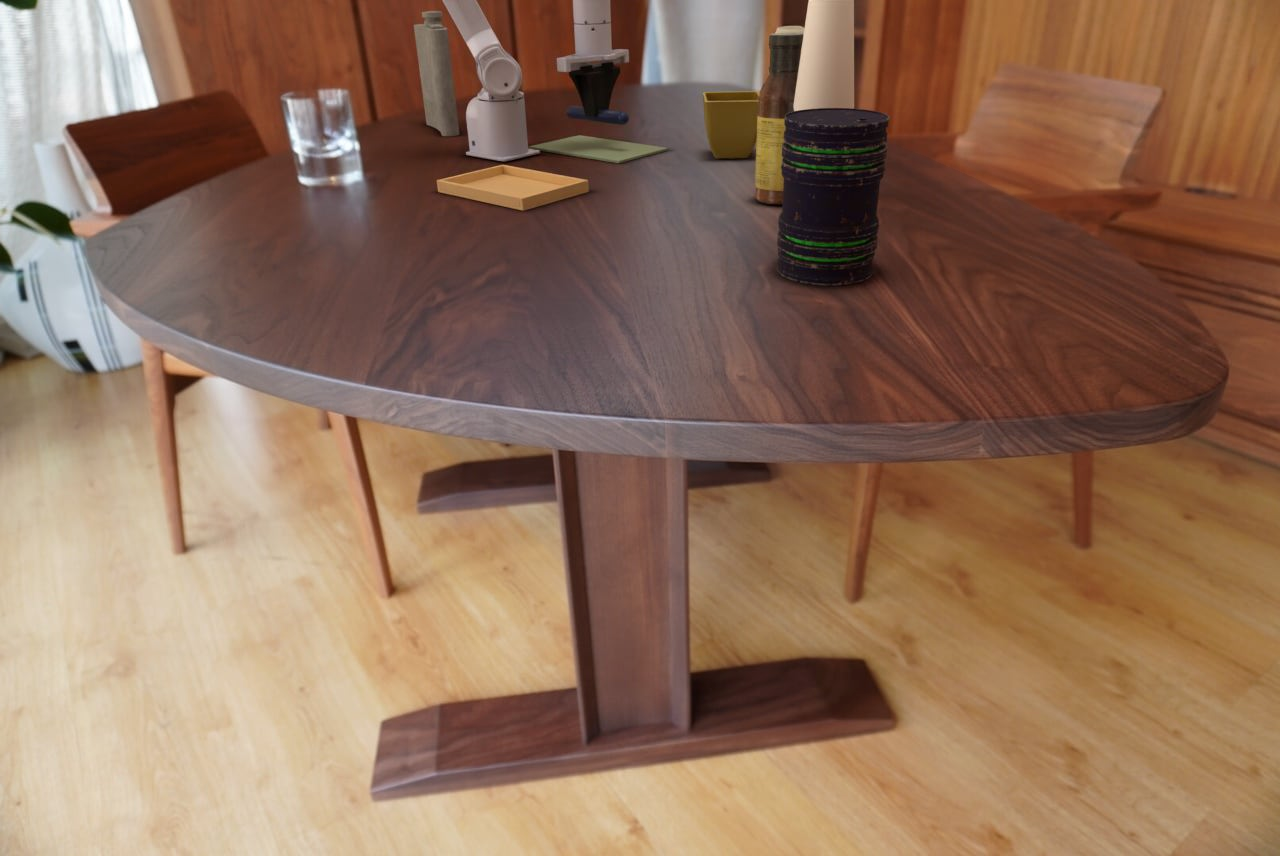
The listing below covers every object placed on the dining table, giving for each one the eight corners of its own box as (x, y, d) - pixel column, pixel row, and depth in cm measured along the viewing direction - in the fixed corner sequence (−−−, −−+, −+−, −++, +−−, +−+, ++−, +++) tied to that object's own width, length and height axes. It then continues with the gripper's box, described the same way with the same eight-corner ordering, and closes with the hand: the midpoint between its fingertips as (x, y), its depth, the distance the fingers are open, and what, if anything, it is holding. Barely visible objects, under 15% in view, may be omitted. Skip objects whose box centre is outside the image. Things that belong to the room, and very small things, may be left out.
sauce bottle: (801, 207, 114) (812, 35, 104) (751, 206, 115) (758, 36, 105) (804, 194, 119) (814, 30, 110) (756, 193, 120) (762, 31, 111)
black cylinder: (755, 270, 92) (761, 117, 85) (813, 249, 98) (823, 104, 91) (837, 293, 86) (851, 129, 79) (893, 268, 92) (911, 114, 85)
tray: (437, 192, 125) (436, 180, 124) (503, 175, 133) (502, 164, 133) (523, 210, 115) (522, 198, 114) (588, 191, 123) (588, 180, 123)
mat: (529, 148, 150) (528, 146, 150) (579, 137, 158) (579, 135, 158) (619, 163, 139) (619, 160, 139) (668, 150, 147) (668, 147, 147)
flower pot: (761, 161, 138) (764, 99, 134) (704, 162, 138) (704, 100, 134) (756, 150, 146) (758, 90, 141) (701, 150, 146) (702, 91, 142)
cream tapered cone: (776, 218, 110) (787, -2, 98) (825, 211, 112) (841, -4, 100) (804, 232, 104) (819, 1, 93) (855, 225, 106) (876, -1, 95)
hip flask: (425, 123, 174) (410, 9, 165) (445, 121, 176) (432, 8, 166) (443, 137, 162) (428, 14, 152) (466, 134, 163) (452, 12, 154)
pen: (564, 118, 150) (563, 106, 149) (572, 117, 151) (572, 104, 150) (623, 126, 142) (622, 113, 141) (631, 124, 143) (631, 111, 142)
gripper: (578, 27, 133) (583, 124, 139) (642, 20, 142) (644, 110, 149) (544, 26, 137) (551, 119, 143) (609, 19, 146) (612, 107, 153)
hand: (596, 115), depth 146 cm, fingers closed on pen, 2 cm apart
